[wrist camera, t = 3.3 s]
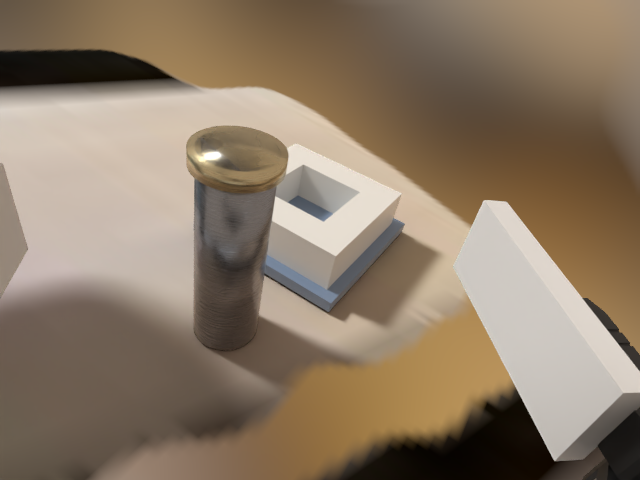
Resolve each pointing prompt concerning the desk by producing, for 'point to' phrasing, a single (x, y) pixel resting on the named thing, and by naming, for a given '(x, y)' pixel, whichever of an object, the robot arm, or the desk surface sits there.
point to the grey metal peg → (232, 228)
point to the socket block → (327, 227)
